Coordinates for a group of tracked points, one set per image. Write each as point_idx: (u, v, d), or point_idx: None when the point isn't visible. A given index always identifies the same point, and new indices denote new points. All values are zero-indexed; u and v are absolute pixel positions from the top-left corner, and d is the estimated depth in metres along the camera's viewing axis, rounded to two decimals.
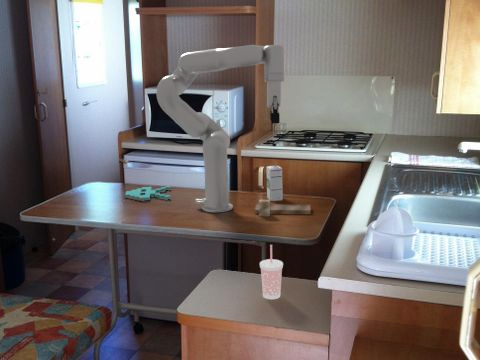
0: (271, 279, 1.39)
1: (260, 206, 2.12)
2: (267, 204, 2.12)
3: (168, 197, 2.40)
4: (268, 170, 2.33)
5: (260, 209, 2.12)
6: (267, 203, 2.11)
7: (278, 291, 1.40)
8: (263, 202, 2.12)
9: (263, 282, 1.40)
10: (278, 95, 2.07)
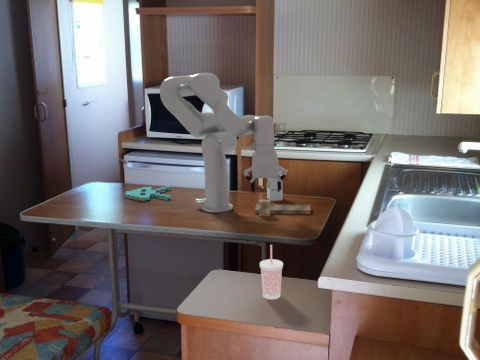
0: (271, 279, 1.39)
1: (260, 206, 2.12)
2: (267, 204, 2.12)
3: (168, 197, 2.40)
4: None
5: (260, 209, 2.12)
6: (267, 203, 2.11)
7: (278, 291, 1.40)
8: (263, 202, 2.12)
9: (263, 282, 1.40)
10: None
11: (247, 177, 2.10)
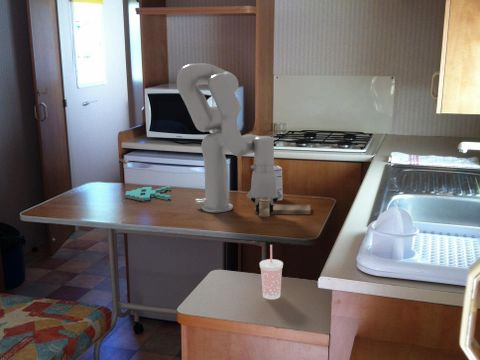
0: (271, 279, 1.39)
1: (260, 206, 2.12)
2: (267, 204, 2.12)
3: (168, 197, 2.40)
4: None
5: (260, 209, 2.12)
6: (267, 203, 2.11)
7: (278, 291, 1.40)
8: (263, 202, 2.12)
9: (263, 282, 1.40)
10: None
11: (252, 199, 2.12)
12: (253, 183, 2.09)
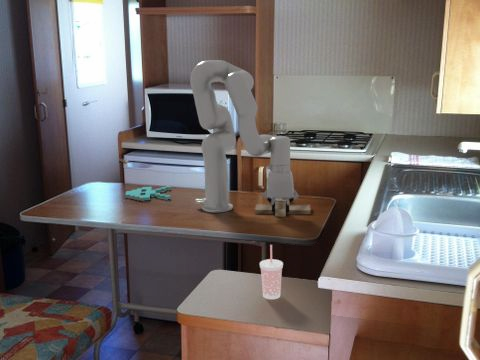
0: (271, 279, 1.39)
1: (276, 206, 2.11)
2: (283, 204, 2.11)
3: (168, 197, 2.40)
4: (268, 170, 2.33)
5: (276, 209, 2.12)
6: (283, 203, 2.11)
7: (278, 291, 1.40)
8: (279, 202, 2.11)
9: (263, 282, 1.40)
10: None
11: (268, 199, 2.12)
12: (269, 183, 2.09)
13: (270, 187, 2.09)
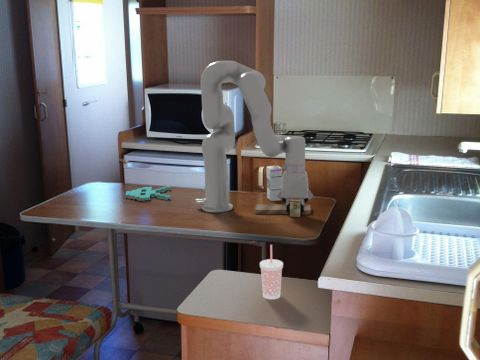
0: (271, 279, 1.39)
1: (291, 206, 2.11)
2: (298, 204, 2.10)
3: (168, 197, 2.40)
4: (268, 170, 2.33)
5: (291, 210, 2.11)
6: (298, 203, 2.10)
7: (278, 291, 1.40)
8: (294, 202, 2.10)
9: (263, 282, 1.40)
10: None
11: (283, 199, 2.11)
12: (284, 183, 2.08)
13: (285, 187, 2.08)
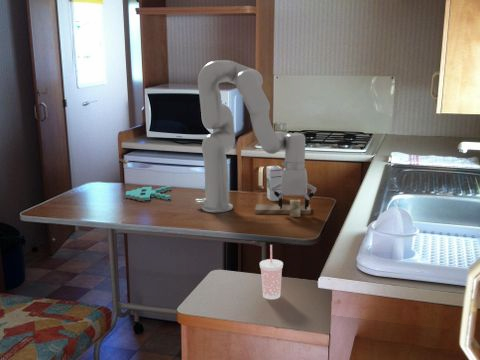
0: (271, 279, 1.39)
1: (291, 206, 2.11)
2: (298, 204, 2.10)
3: (168, 197, 2.40)
4: (268, 170, 2.33)
5: (291, 210, 2.11)
6: (298, 203, 2.10)
7: (278, 291, 1.40)
8: (294, 202, 2.10)
9: (263, 282, 1.40)
10: None
11: (275, 193, 2.11)
12: (283, 180, 2.08)
13: (284, 184, 2.08)
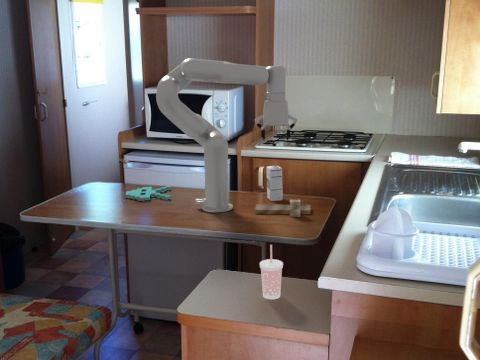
0: (271, 279, 1.39)
1: (291, 206, 2.11)
2: (298, 204, 2.10)
3: (168, 197, 2.40)
4: (268, 170, 2.33)
5: (291, 210, 2.11)
6: (298, 203, 2.10)
7: (278, 291, 1.40)
8: (294, 202, 2.10)
9: (263, 282, 1.40)
10: None
11: (258, 124, 2.20)
12: (265, 111, 2.17)
13: (266, 115, 2.17)
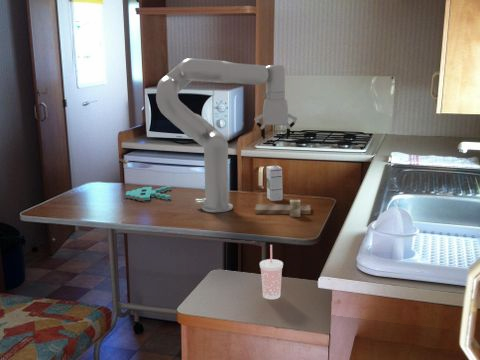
0: (271, 279, 1.39)
1: (291, 206, 2.11)
2: (298, 204, 2.10)
3: (168, 197, 2.40)
4: (268, 170, 2.33)
5: (291, 210, 2.11)
6: (298, 203, 2.10)
7: (278, 291, 1.40)
8: (294, 202, 2.10)
9: (263, 282, 1.40)
10: None
11: (258, 124, 2.20)
12: (265, 110, 2.17)
13: (266, 114, 2.17)
